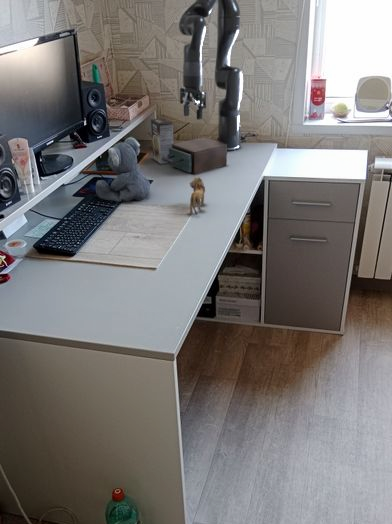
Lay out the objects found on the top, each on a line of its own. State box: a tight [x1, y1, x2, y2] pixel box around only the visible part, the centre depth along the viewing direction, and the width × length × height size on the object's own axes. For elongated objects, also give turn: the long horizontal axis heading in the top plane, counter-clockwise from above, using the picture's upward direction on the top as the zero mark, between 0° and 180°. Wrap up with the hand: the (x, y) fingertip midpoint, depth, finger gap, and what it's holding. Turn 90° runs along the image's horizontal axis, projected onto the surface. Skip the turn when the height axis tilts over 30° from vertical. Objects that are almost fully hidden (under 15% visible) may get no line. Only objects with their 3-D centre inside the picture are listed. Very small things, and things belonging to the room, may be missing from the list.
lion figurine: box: [189, 176, 206, 216], centre depth 191 cm, size 15×5×9 cm, turn 0°
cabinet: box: [172, 136, 228, 175], centre depth 231 cm, size 17×15×9 cm
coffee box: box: [150, 117, 174, 165], centre depth 236 cm, size 9×6×16 cm
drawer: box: [162, 148, 193, 173], centre depth 228 cm, size 21×14×7 cm, turn 128°
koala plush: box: [95, 136, 151, 203], centre depth 200 cm, size 17×18×20 cm
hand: (192, 117), depth 230 cm, fingers open, 8 cm apart
